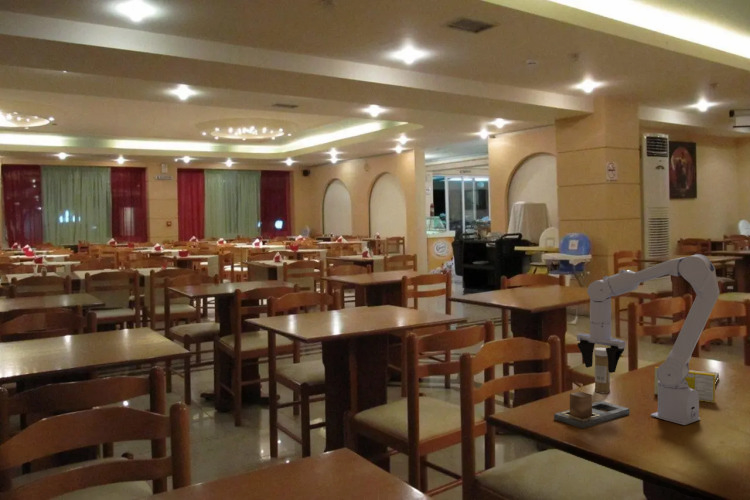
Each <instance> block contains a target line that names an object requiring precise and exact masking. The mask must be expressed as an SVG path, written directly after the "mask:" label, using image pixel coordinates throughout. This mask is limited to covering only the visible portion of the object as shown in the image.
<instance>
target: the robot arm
mask: <svg viewBox="0 0 750 500" xmlns="http://www.w3.org/2000/svg"><path fill="white" fill-rule="evenodd" d="M716 273H717V272H716V267H715V266H714V264H713V263H712V261H711V260H710V259H709V257H708V256H706V255H704V254H699V253H695V254H693V255H690V256H684V257H683V256H682V257H678V258H673V259H669V260H665V261H663V262H660V263H658V264H655V265H653V266H650V267H647V268H644V269H642V270H638V271H634V270H630V269H627V270H626V269H621V270H619V271H618V273H615V274H613V275H610V276H608V275H605V276H602V279H599V280H598V279H597V280H595V281H592V282H591V283H590V284H589V285H588V287H587V290H586V291H587V296H588V297H589V298H590V299H589V334H587V333H577V334H576V341H577V342H578V343H577V348H578V349H579V351H580V352H581V355H582V357H583V361H584V366H585V368H587V369H588V368H590V367H592V368H593V363H594V362H593V357H594V356H593V355H594V351H595V345H602V346H607V347H605V348H606V352H607V356H608V370H609V373H610V374H613V373H615V372H616V370H617V365H618V363H619V361H620V358H621V356H622V354H623V352H624V351H625V349H626V341H625V340H621V339H618V338H616V337H615V338H614V337H612V297H618V296H621V295H624V294H627V293H630V292H633V291H636V290H638V288H639V286H640V284H641V283H644V282H647V281H650V280H654V279H657V278H660V277H664V276H667V275H670V276H673V277H679V276H682V278H683V279H684V280H686V282H688V283H689V284H690V285H691V287H692V289H693V291H694V292H695V294H696V296H695V298H694V300H693V303H692V305H691V308H690V309H689V312H688V313H687V316H686V318H685V320H684V322H683V324H682V327H681V329H680V330H679V332H678V333H679V334H678V336H677V338H676V340H675V342H674V343H673V346H672V348H671V350H670V352H669V354H668V355H667V357H666V359H665V361H664V362H663V363H661V364H660V365H658V366H657V367H658V369H657V378H658V380H659V381H658V395H657V411H656V412H653V413H650V417H653V418H658V419H661V420H664V421H668V422H670V423H675V424H679V425H683V426H686V425H689V424H691V423H694V422H698V421H701V417H700V401H699V395H698V392H697V391H696V390H694V389H691V388H689V387H688V383H687V381H686V380H685V377H686V376H687V375H688V373H689V370H690V368H689V364H690V361H691V358H692V354H693V353H694V350H695V348H696V345H697V343H698V341H699V339H700V338H701V336H702V333H703V330H704V329H705V326H706V324H707V322H708V321H709V320H708V319H710V316H711V314H712V312H713V310H714V308H715V305H716V303H717V300H718V299H719V296H720V293H721V292H720V291H721V290H720V287H719V284H718V279H717V278H718V277H717V274H716Z"/></svg>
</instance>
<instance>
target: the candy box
mask: <svg viewBox="0 0 750 500" xmlns="http://www.w3.org/2000/svg"><path fill="white" fill-rule="evenodd" d="M658 367H659V366H655V367H654V389H653V390H654V395H657V396H658V381H659V380H658V378H657V369H658ZM702 372H703V371H702ZM702 372H693V371H689V373H688V375H687V376H686V377H685V380H686V381H687V383H688V387H689V388H691V389H694V390H696V391H697V392H698V395H699V402H703V401H705V403H710V402H711V404H715V403H716V385H715V374H710V373H702Z"/></svg>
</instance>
